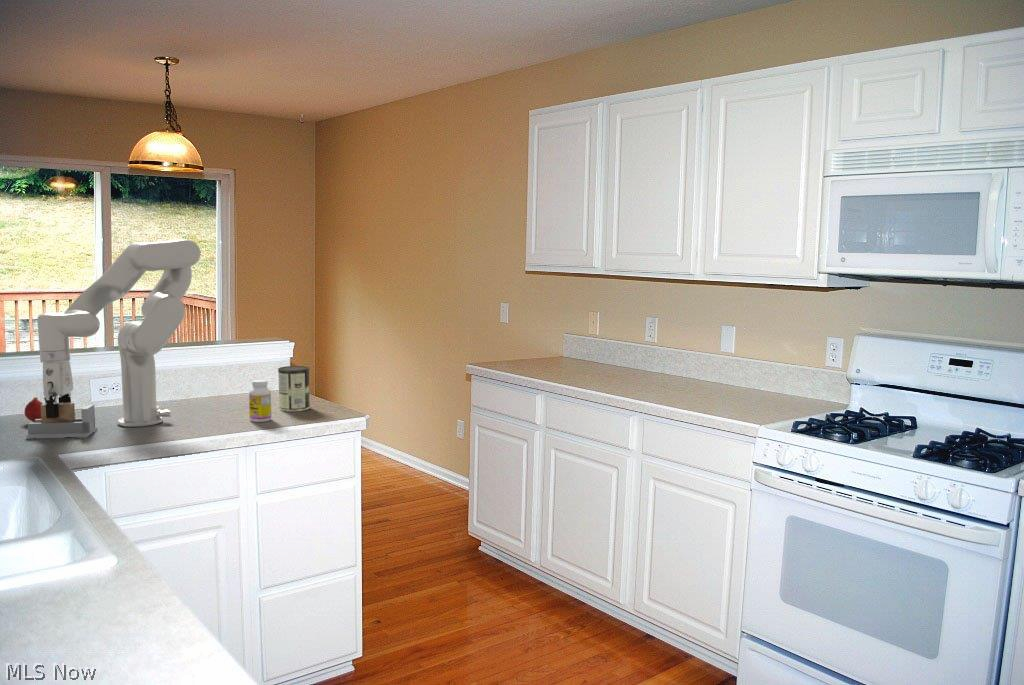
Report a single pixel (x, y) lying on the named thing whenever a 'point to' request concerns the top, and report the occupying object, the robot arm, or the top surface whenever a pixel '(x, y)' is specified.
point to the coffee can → (293, 388)
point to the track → (65, 426)
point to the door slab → (60, 413)
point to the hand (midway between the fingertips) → (59, 413)
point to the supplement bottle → (260, 401)
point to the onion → (33, 409)
